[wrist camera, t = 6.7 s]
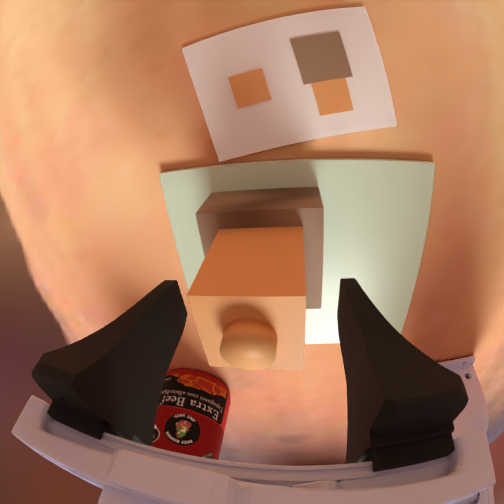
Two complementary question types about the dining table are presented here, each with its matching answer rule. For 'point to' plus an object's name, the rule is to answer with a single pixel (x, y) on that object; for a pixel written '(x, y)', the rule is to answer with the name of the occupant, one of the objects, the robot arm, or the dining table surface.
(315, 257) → the base block
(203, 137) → the dining table surface
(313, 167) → the board
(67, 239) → the dining table surface
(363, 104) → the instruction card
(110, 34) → the dining table surface
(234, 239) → the brick
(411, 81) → the dining table surface
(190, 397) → the canned food
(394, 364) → the robot arm
